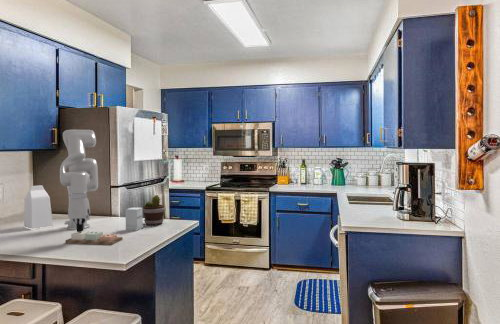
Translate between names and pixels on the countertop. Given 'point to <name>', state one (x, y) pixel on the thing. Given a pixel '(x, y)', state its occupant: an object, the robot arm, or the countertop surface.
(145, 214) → the flowerpot
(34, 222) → the milk
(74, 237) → the tile one
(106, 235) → the tile three
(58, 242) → the countertop surface
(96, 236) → the tile two
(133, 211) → the supplement box
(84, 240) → the board
